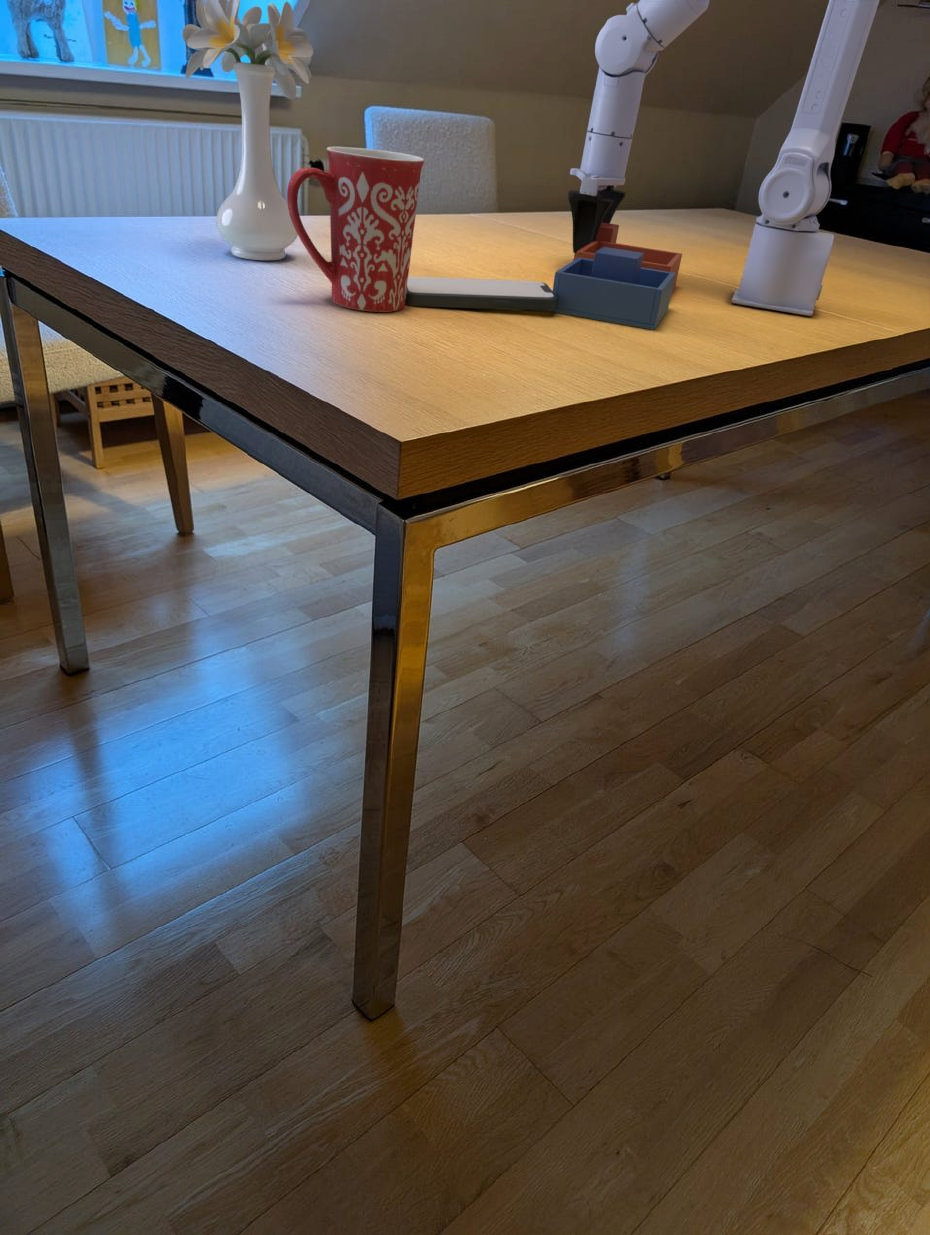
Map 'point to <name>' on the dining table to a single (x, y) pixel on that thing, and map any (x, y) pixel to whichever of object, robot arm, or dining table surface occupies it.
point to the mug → (365, 224)
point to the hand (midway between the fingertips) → (586, 250)
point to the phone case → (480, 294)
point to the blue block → (617, 265)
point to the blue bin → (613, 295)
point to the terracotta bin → (651, 256)
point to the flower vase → (253, 114)
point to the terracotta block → (606, 233)
